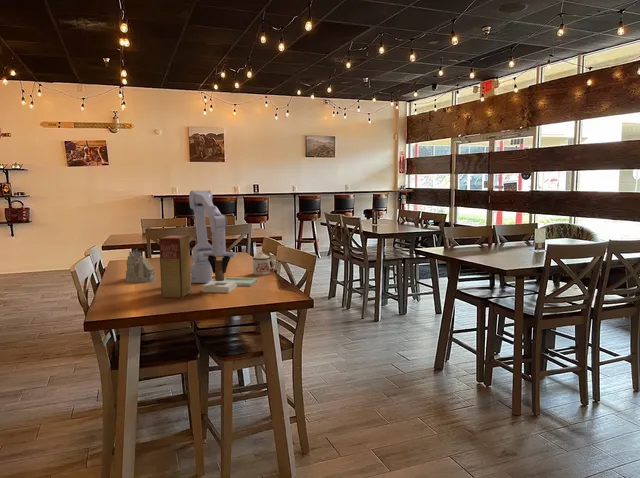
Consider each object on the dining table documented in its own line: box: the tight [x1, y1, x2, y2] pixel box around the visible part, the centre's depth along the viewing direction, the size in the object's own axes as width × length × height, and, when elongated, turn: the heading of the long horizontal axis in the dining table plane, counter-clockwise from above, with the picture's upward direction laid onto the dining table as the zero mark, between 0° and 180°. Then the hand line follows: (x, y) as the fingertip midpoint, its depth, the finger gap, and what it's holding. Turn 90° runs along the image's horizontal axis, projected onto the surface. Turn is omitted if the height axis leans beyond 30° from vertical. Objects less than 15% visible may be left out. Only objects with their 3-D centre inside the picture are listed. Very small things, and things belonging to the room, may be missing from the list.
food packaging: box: [158, 234, 192, 299], centre depth 200 cm, size 13×9×25 cm
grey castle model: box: [124, 251, 157, 284], centre depth 233 cm, size 16×16×15 cm
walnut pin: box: [214, 259, 225, 281], centre depth 211 cm, size 4×4×9 cm
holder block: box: [201, 280, 238, 294], centre depth 212 cm, size 12×12×2 cm
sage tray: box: [224, 276, 258, 287], centre depth 225 cm, size 16×12×2 cm
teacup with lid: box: [252, 251, 276, 276], centre depth 249 cm, size 12×9×12 cm
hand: (219, 272), depth 211 cm, fingers closed on walnut pin, 4 cm apart
